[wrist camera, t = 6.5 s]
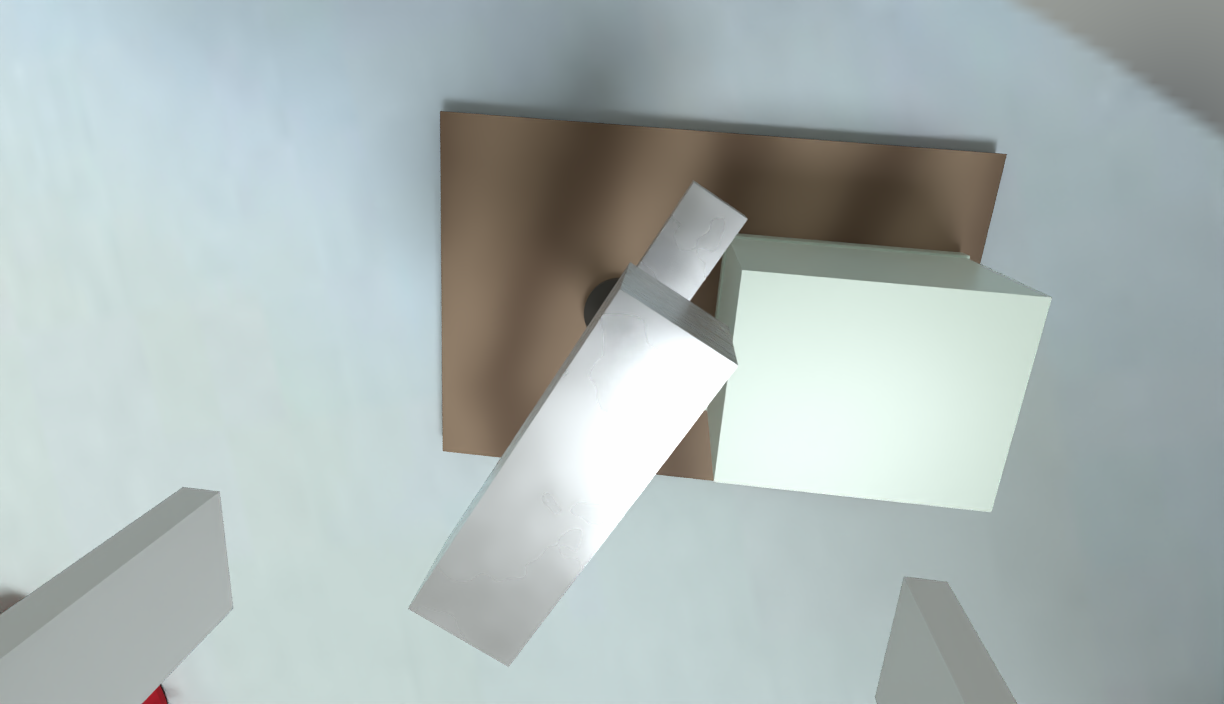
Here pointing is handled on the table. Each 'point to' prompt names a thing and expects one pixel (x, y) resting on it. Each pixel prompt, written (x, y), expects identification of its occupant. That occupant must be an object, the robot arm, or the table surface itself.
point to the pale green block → (870, 371)
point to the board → (644, 237)
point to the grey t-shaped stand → (590, 439)
